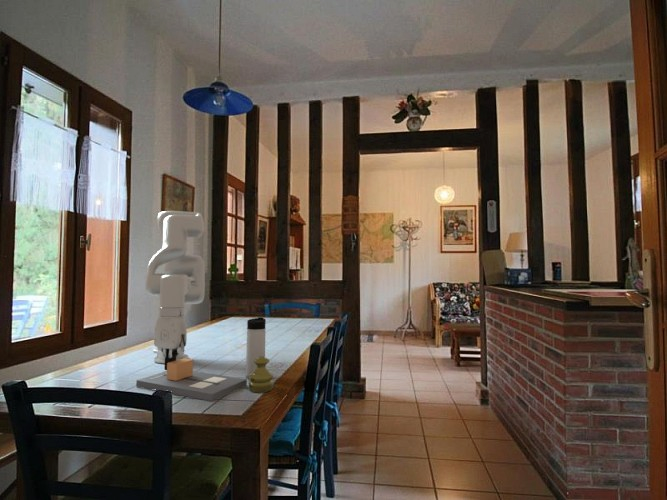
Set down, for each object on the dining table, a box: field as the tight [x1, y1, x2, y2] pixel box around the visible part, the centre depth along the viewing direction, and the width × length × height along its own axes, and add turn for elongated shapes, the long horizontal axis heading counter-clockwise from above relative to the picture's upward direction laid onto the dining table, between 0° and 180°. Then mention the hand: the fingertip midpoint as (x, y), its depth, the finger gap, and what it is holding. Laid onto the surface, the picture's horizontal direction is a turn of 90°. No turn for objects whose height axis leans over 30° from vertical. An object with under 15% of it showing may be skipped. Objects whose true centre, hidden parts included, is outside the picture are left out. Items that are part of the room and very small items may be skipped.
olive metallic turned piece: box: [248, 356, 274, 394], centre depth 120 cm, size 7×7×10 cm
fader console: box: [135, 370, 248, 402], centre depth 122 cm, size 30×16×2 cm, turn 66°
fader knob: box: [166, 358, 194, 381], centre depth 124 cm, size 4×7×5 cm, turn 156°
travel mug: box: [245, 317, 267, 380], centre depth 133 cm, size 6×7×20 cm
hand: (170, 369), depth 126 cm, fingers closed
